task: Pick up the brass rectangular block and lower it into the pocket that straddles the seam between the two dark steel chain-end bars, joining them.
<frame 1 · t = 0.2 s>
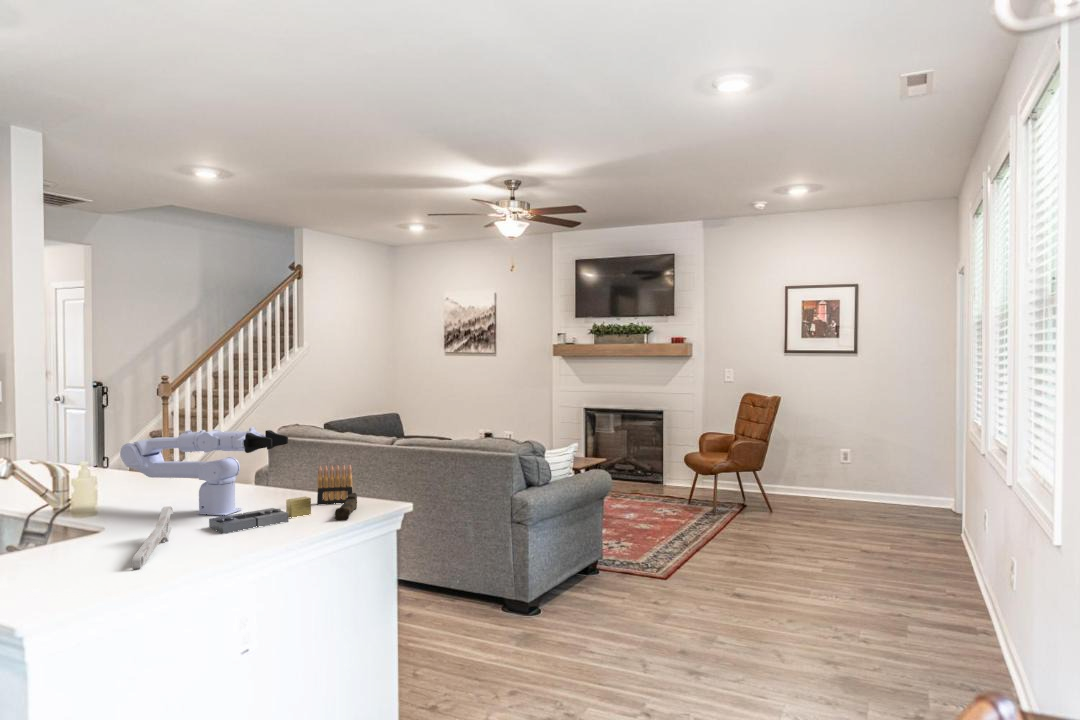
hand: (279, 441, 215), 21 cm above the table, tool horizontal, fingers open, 7 cm apart
chain ends: (249, 524, 205), on the table
ammunition clip: (335, 504, 232), on the table
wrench: (154, 553, 180), on the table
dark brown elongated piece: (346, 514, 219), on the table
brass rectangular block: (298, 516, 216), on the table
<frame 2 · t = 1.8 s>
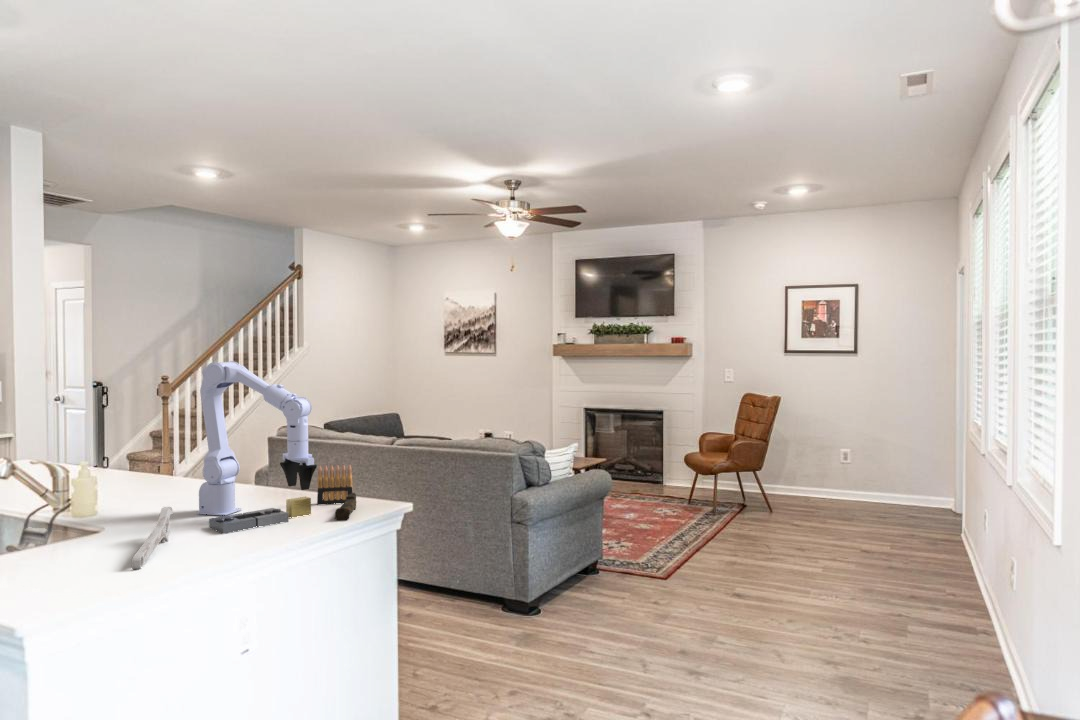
hand: (298, 487, 215), 8 cm above the table, tool pointing down, fingers open, 7 cm apart
nothing on the table moved.
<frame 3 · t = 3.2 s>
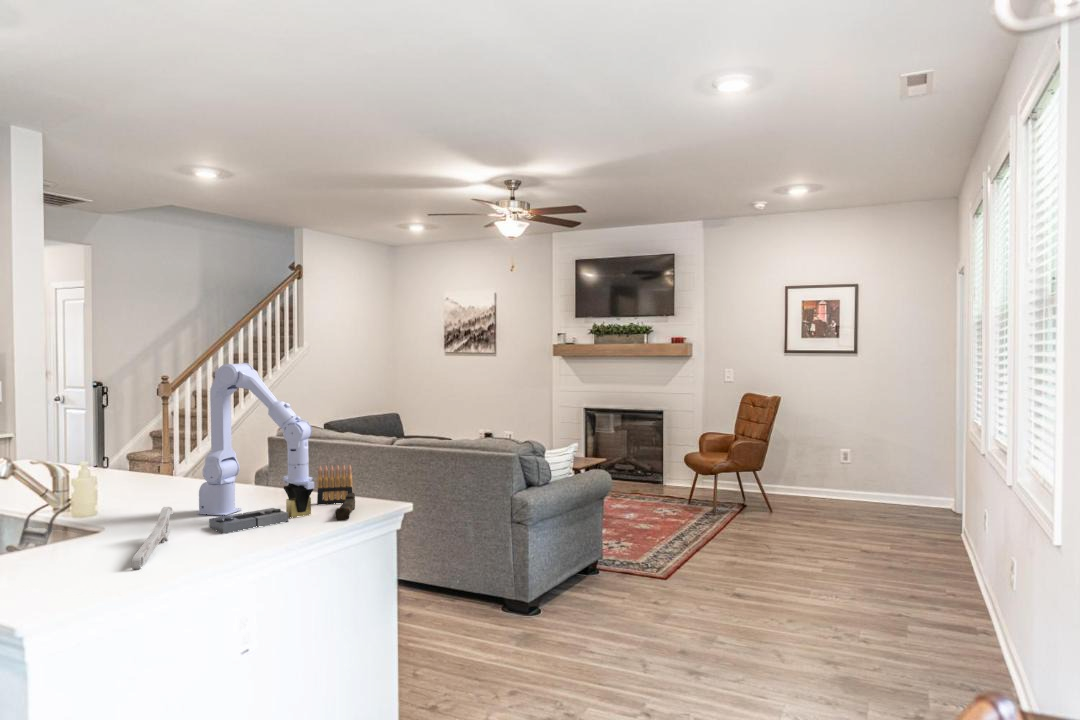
hand: (298, 510, 216), 1 cm above the table, tool pointing down, fingers closed on brass rectangular block, 3 cm apart
brass rectangular block: (298, 515, 216), on the table, touching gripper
everything else where it was.
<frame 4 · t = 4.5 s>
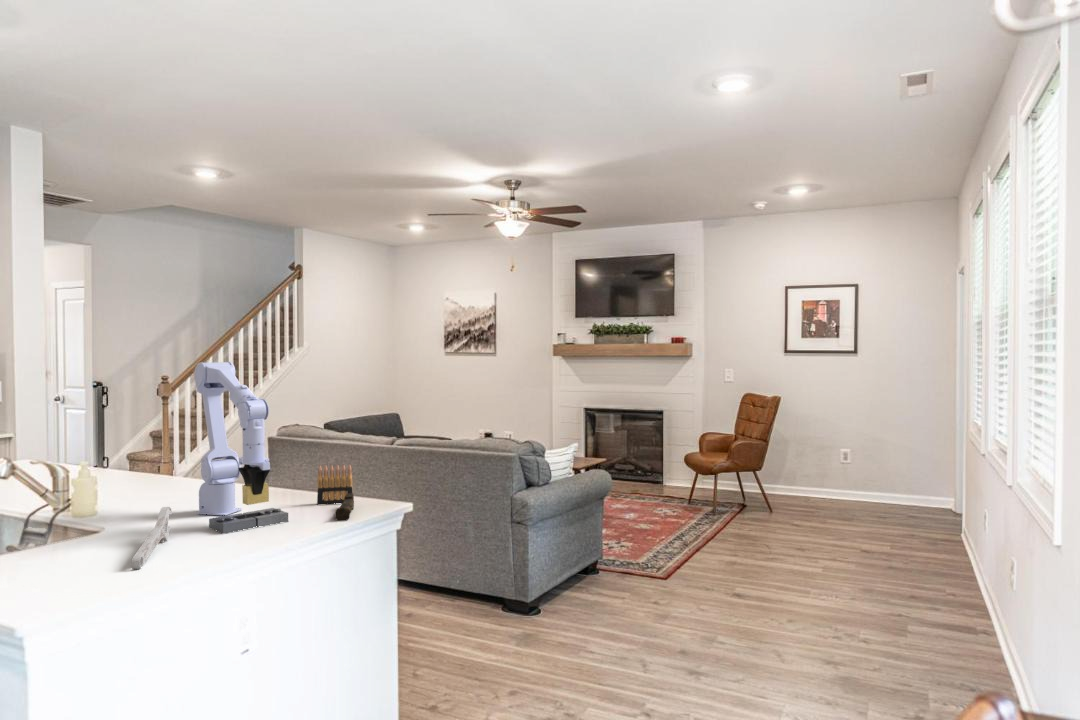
hand: (254, 493, 206), 8 cm above the table, tool pointing down, fingers closed on brass rectangular block, 3 cm apart
brass rectangular block: (255, 502, 207), point 6 cm above the table, touching gripper
everything else where it was.
when the fingers open (3 cm above the table, at t = 5.9 s): brass rectangular block stays where it is, resting in chain ends.
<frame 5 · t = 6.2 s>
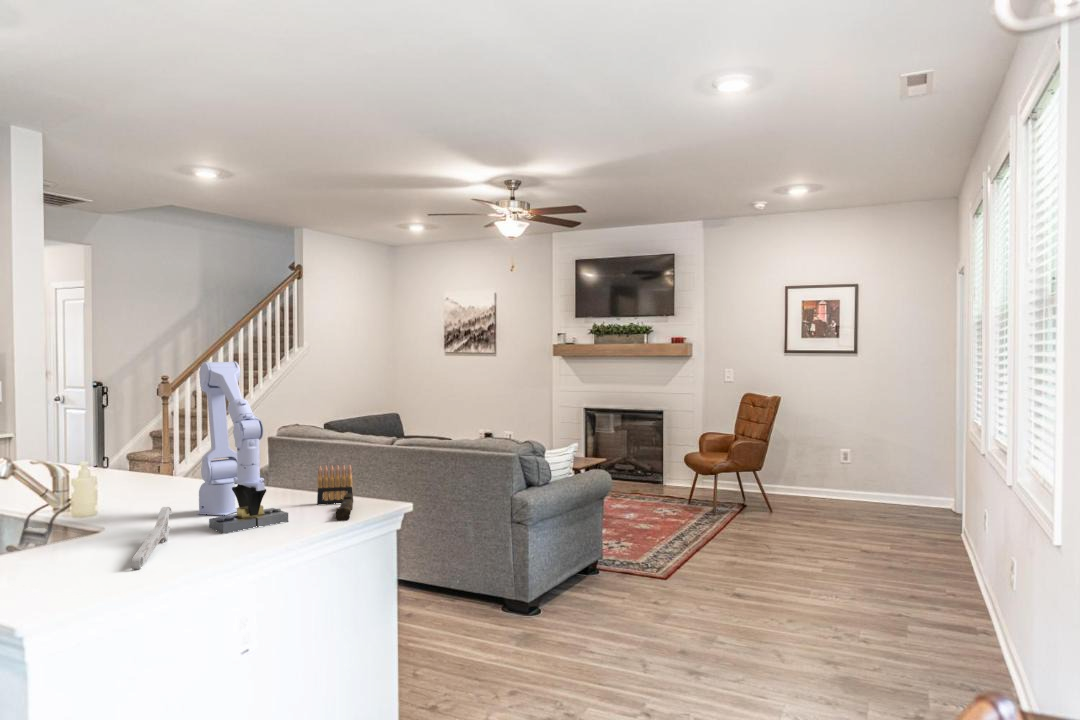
hand: (249, 513, 205), 3 cm above the table, tool pointing down, fingers open, 5 cm apart
brass rectangular block: (250, 525, 206), resting in chain ends
everything else where it was.
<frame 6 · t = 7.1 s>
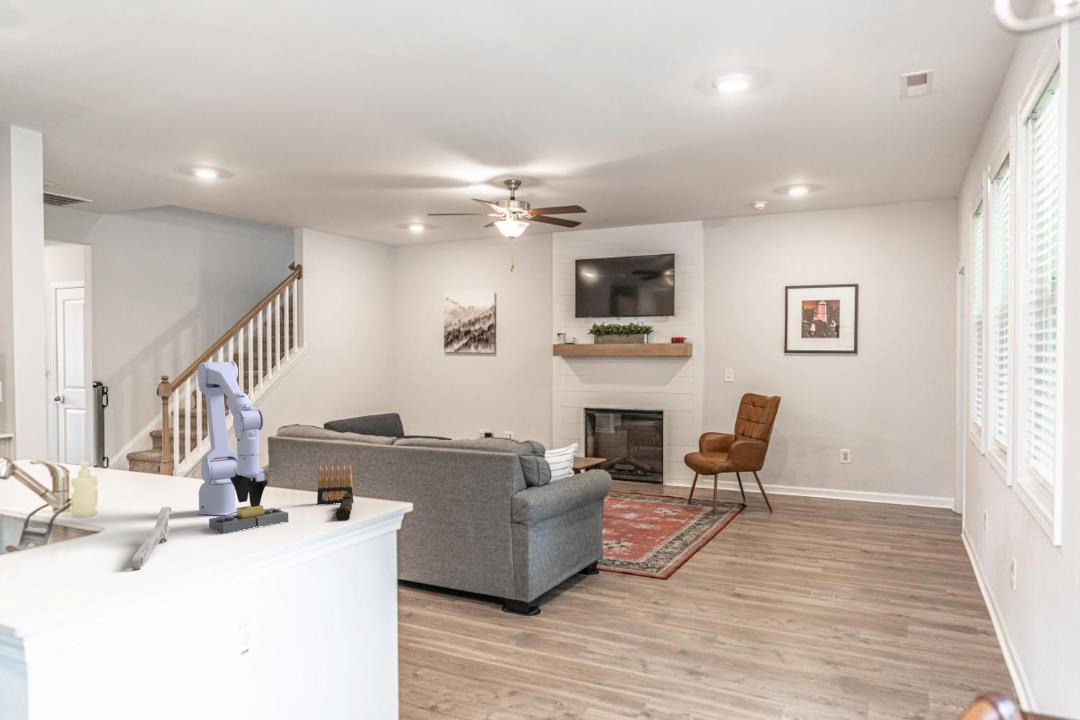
hand: (249, 504, 205), 6 cm above the table, tool pointing down, fingers open, 7 cm apart
nothing on the table moved.
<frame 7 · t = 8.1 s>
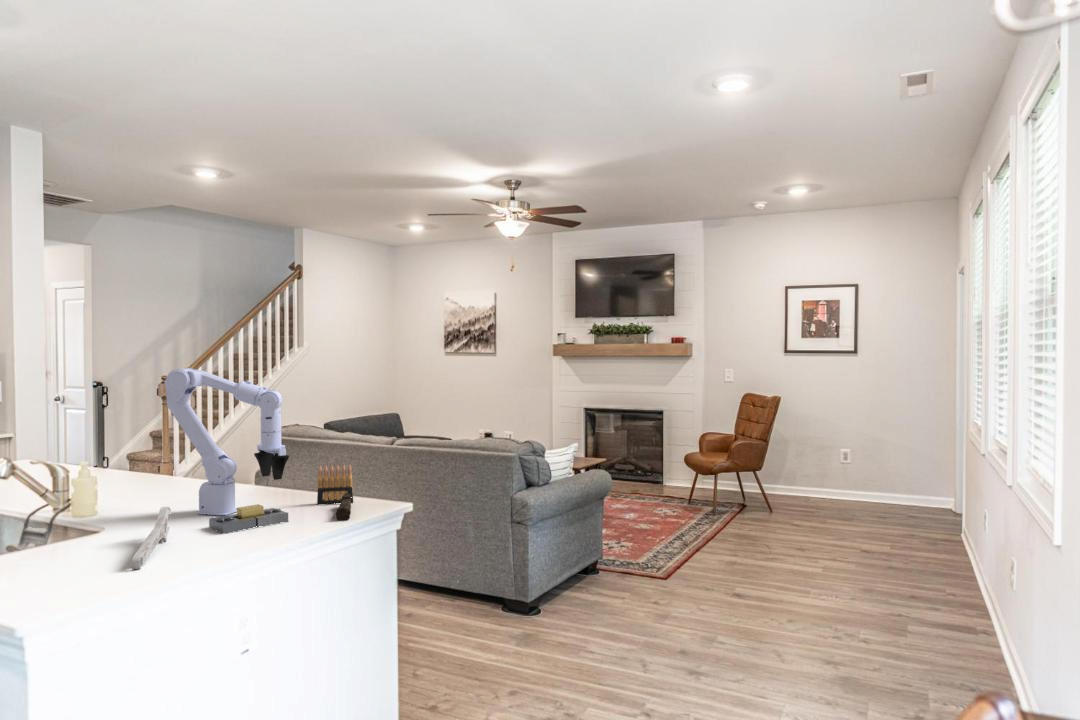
hand: (271, 477, 222), 10 cm above the table, tool pointing down, fingers open, 7 cm apart
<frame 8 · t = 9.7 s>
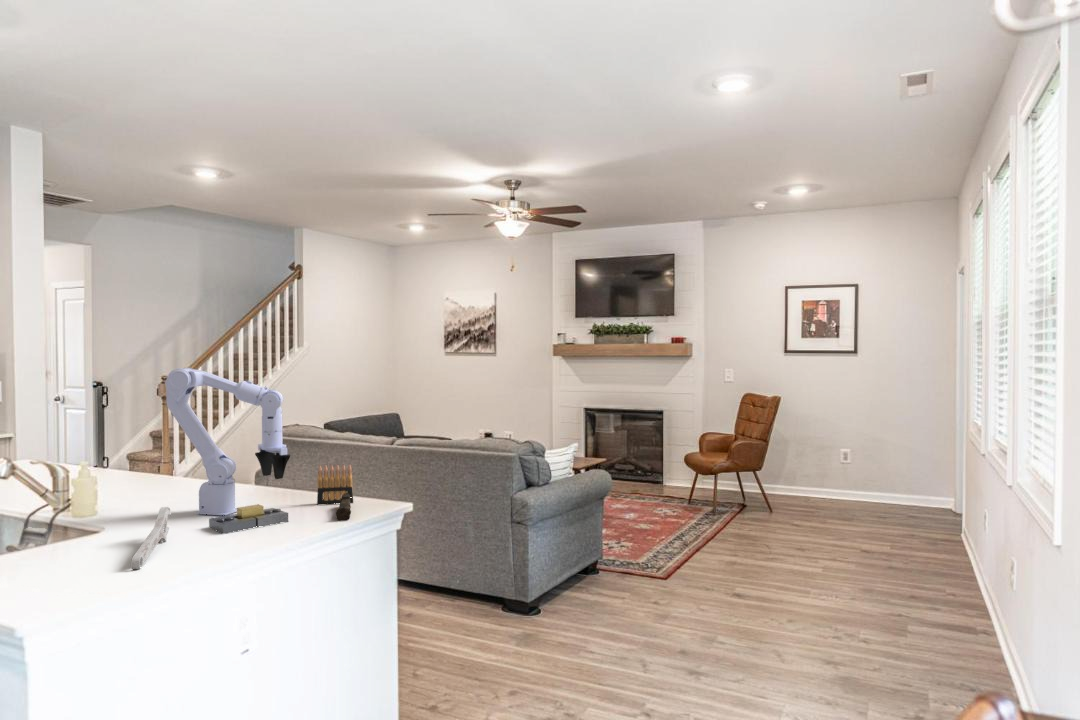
hand: (272, 477, 222), 10 cm above the table, tool pointing down, fingers open, 7 cm apart
at the end: brass rectangular block 0.3 cm from the chain ends (horizontally); brass rectangular block resting in chain ends; brass rectangular block tilted 0° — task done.
